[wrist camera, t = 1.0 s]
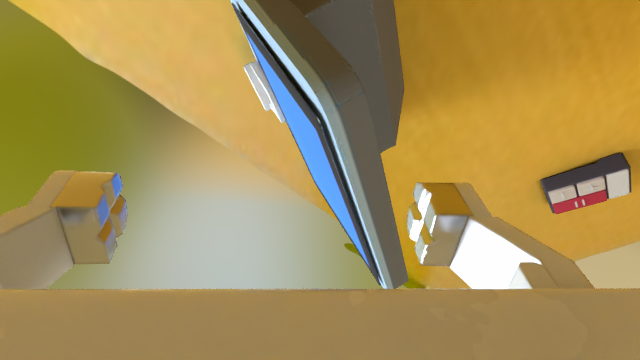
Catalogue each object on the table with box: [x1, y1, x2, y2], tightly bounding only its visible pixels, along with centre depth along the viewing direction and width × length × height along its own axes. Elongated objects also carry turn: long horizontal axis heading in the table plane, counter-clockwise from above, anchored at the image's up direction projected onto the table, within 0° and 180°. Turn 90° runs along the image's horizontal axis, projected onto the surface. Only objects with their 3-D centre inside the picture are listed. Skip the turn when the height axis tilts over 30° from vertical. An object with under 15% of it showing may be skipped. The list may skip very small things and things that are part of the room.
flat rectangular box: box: [541, 153, 631, 214], centre depth 88 cm, size 11×4×15 cm
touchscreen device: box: [230, 0, 408, 289], centre depth 48 cm, size 35×20×30 cm, turn 14°
